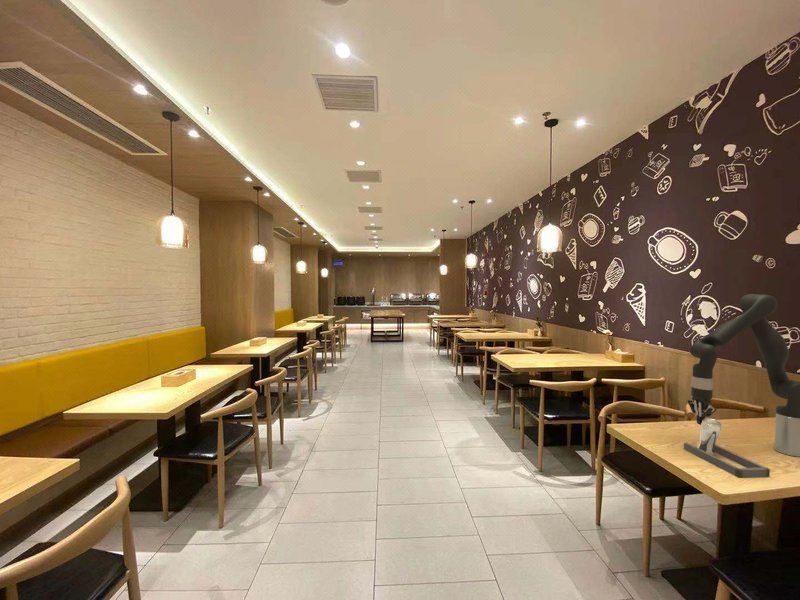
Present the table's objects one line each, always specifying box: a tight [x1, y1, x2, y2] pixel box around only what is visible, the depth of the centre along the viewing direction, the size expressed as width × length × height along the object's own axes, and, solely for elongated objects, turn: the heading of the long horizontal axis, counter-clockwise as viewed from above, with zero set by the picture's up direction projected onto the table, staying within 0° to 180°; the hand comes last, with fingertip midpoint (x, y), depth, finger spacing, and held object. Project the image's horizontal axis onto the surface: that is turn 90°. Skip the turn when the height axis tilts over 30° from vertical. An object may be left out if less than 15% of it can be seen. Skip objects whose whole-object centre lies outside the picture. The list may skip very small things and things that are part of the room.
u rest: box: [683, 442, 771, 479], centre depth 155 cm, size 13×26×3 cm, turn 4°
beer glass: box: [696, 417, 723, 456], centre depth 162 cm, size 7×7×15 cm
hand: (700, 424), depth 166 cm, fingers closed
